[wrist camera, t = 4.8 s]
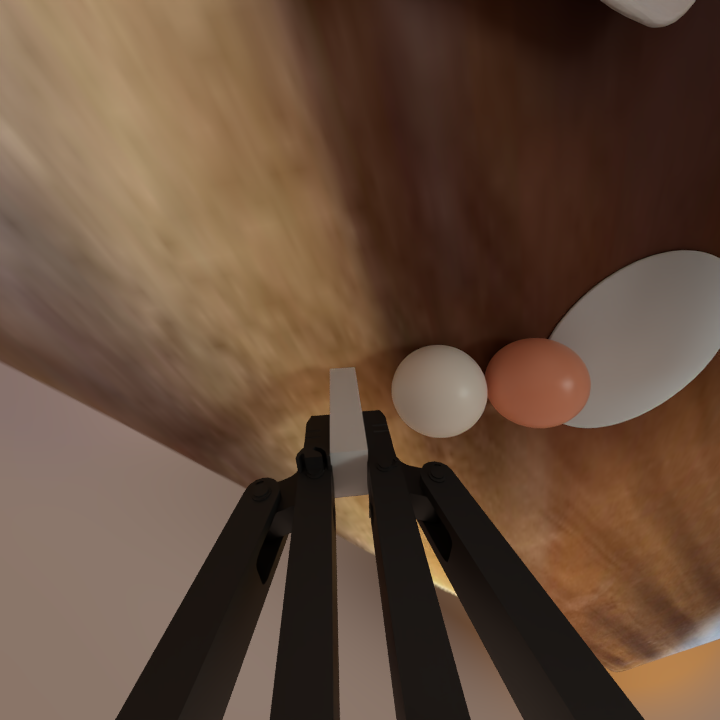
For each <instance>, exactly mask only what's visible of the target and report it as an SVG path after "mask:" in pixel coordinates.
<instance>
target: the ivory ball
mask: <svg viewBox="0 0 720 720" xmlns="http://www.w3.org/2000/svg"><path fill="white" fill-rule="evenodd" d="M392 399H393V403H394V406H395V409H396V411H397V413H398V414H399V416H400V417H401V419H402V420H403V421H404V422H405V423H406V424H407V425H408V426H409V427H410V428H412V429H413V430H415V431H417V432H419V433H421V434H423V435H426V436H429V437H435V438H447V437H453V436H456V435H459V434H461V433H463V432H465V431H467V430H468V429H470V428H471V427H472V426H473V425H474V424H475V423H476V422H477V421H478V420H479V418H480V417H481V415H482V413H483V411H484V409H485V406H486V403H487V383H486V379H485V376H484V374H483V372H482V370H481V368H480V367H479V365H478V364H477V363H476V362H475V361H474V360H473V359H472V358H471V357H470V356H469V355H468V354H466V353H465V352H463V351H461V350H459V349H457V348H454V347H451V346H446V345H430V346H425V347H422V348H420V349H417V350H415V351H414V352H412V353H410V354H409V355H408V356H407V357H406V358H405V359H404V360H403V361H402V362H401V363H400V365H399V366H398V368H397V369H396V372H395V374H394V377H393V381H392Z"/></svg>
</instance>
